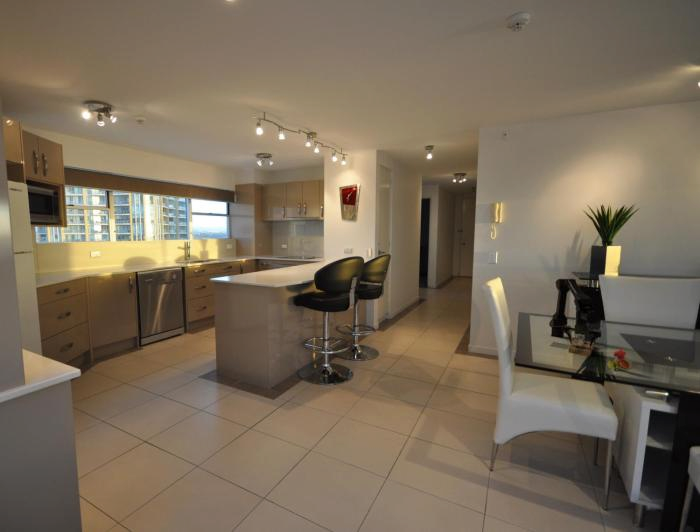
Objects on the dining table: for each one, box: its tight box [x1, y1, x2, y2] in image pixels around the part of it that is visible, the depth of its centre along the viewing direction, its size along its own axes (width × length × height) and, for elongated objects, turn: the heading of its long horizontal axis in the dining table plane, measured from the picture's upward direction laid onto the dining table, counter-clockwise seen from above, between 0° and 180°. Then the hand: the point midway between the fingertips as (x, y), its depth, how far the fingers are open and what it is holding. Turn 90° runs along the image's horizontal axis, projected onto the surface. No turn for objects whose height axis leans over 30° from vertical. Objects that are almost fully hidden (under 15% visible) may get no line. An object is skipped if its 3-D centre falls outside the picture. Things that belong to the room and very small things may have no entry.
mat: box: [549, 341, 571, 350], centre depth 205 cm, size 9×10×1 cm
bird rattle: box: [608, 348, 634, 372], centre depth 168 cm, size 6×11×9 cm
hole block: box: [568, 338, 595, 357], centre depth 198 cm, size 10×20×3 cm, turn 138°
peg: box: [577, 334, 585, 349], centre depth 194 cm, size 3×3×10 cm
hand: (580, 345), depth 194 cm, fingers open, 9 cm apart
